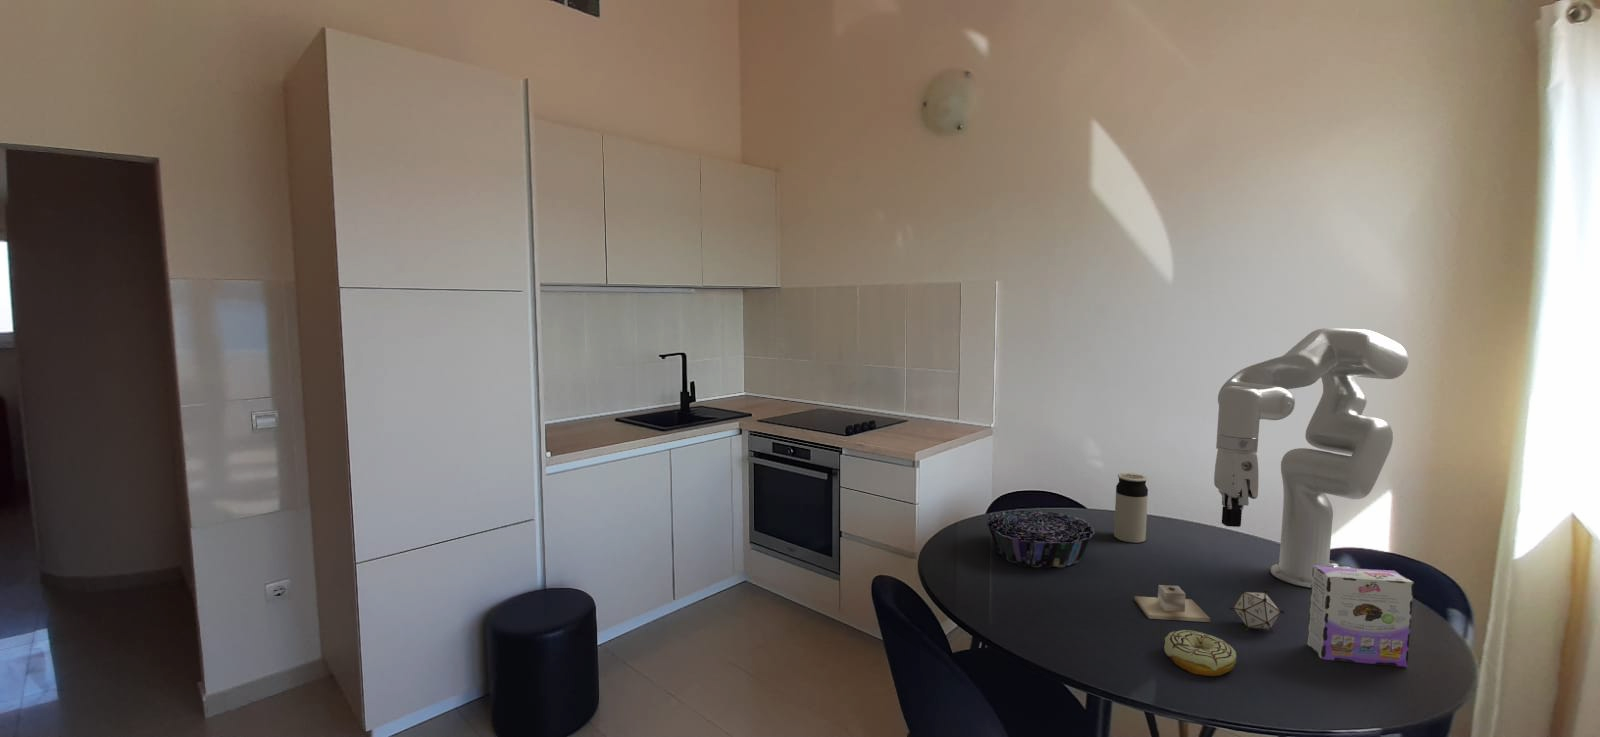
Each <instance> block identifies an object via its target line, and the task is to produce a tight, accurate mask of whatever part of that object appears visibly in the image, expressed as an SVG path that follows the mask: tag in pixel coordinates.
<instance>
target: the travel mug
mask: <svg viewBox="0 0 1600 737" xmlns="http://www.w3.org/2000/svg"><path fill="white" fill-rule="evenodd" d="M1117 478H1118V483H1117V484H1116V485H1115V502H1114V503H1115V505H1114V506H1115V507H1114V508H1115V509H1114V528H1113V529H1114V530H1113V531H1114V532H1113V536H1114V537H1115V538H1116V539H1118V540H1119V541H1122V542H1125V543H1131V544H1133V543H1134V544H1140V543H1143V542H1146V538H1147V537H1146V536H1147V516H1148V515H1147V514H1148V493H1149V489H1148V487H1147V485H1146V483H1147V481H1148V477H1147V476H1146V475H1144V474H1139V473H1133V472H1132V473H1131V472H1122V473H1119V474H1117Z"/></svg>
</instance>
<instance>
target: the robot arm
mask: <svg viewBox="0 0 1600 737" xmlns="http://www.w3.org/2000/svg"><path fill="white" fill-rule="evenodd" d="M1408 365H1409V355H1408V352H1407V350H1406V349H1405V347H1404V346H1403V345H1401V344H1400V343H1399V342H1397V341H1395V340H1393V339H1390V338H1389V337H1387V336H1385V335H1382V334H1381V333H1378V332H1375V331H1372V330H1369V329H1363V328H1362V329H1361V328H1359V329H1358V328H1336V327H1335V328H1333V327H1332V328H1331V327H1330V328H1329V327H1327V328H1326V327H1325V328H1318V329H1315V330H1313V331H1311V332H1310V333H1308V334H1307V335H1306V336H1305V337H1303V338H1302V339H1301V340H1300V341H1299V342H1298V343H1297V344H1296V345H1294V346H1293V347H1291V349H1289V350H1287V352H1286V353H1284V354H1283V355H1281V356H1278V357H1274V358H1271V359H1268V360H1264V361H1261V362H1258V363H1255V364H1252V365H1250V366H1247V367H1244V368H1242V369H1240V370H1239V371H1237V372H1236V373H1235V374H1233V375H1232V376H1231V377H1229V379H1227V380H1226V381H1225V383H1223V385H1222V386H1221V387H1220V389H1219V392H1218V395H1217V403H1218V418H1217V430H1216V444H1215V446H1216V449H1217V453H1216V459H1215V465H1214V474H1213V475H1214V476H1213V481H1214V483H1213V484H1214V486H1215V488H1217V490H1218V492H1219V494H1220V495H1221V505H1222V510H1221V512H1222V513H1221V524H1222V525H1224V527H1225V526H1226V527H1231V528H1240V527H1241V526H1242V515H1243V514H1242V513H1243V510H1244V506H1247V507H1248V506H1249V504H1250V503H1249V498H1250V499H1253V500H1256V499H1257V498H1258V496H1259V462H1258V461H1259V460H1258V454H1257V453H1258V445H1259V444H1258V443H1259V432H1260V420H1267V421H1279V420H1284V419H1285V418H1287V417H1289V416H1290V415H1291V414H1292V413H1293V411H1294V410H1295V405H1296V400H1295V397H1294V395H1293V393H1292V392H1291V391H1290V390H1293V389H1299V388H1304V387H1308V386H1312V385H1313V384H1315V383H1317V382H1318V380H1320V379H1321V383H1322V394H1321V397H1320V399H1319V401H1318V404H1317V406H1316V408H1315V410H1314V411H1313V414H1312V416H1311V418H1310V420H1309V422H1308V425H1307V427H1306V430H1305V435H1304V437H1305V440H1306V442H1307V443H1308V444H1309V445H1311V446H1312V447H1314V448H1316V449H1313V448H1307V447H1306V448H1305V447H1304V448H1302V447H1301V448H1300V447H1298V448H1293V449H1290V450H1289V451H1287V452H1286V453H1284V455H1283V457H1282V458H1281V461H1280V474H1281V478H1282V486H1283V504H1282V516H1281V517H1282V519H1281V529H1280V530H1281V533H1280V544H1279V545H1280V546H1279V549H1280V550H1279V560H1278V563H1276V564H1272V566H1270V574H1272V576H1274V577H1275V578H1277V579H1279V580H1281V581H1283V582H1286V583H1289V584H1292V585H1294V586H1300V587H1303V588H1308V589H1309V588H1310V589H1311V586H1312V573H1313V565H1314V566H1328V567H1343V568H1351V566H1339V564H1338V563H1331V562H1330V556H1331V544H1332V543H1331V542H1332V530H1333V521H1334V520H1333V518H1334V510H1333V506H1332V504H1331V501H1330V499H1329V497H1328V496H1327V495H1331V496H1335V497H1339V498H1345V499H1350V500H1362V499H1365V498H1366V497H1367V496H1369V494H1370V493H1371V492H1372V491H1373V489H1374V486H1375V484H1376V483H1377V480H1378V478H1379V476H1380V474H1381V472H1382V469H1383V467H1384V464H1385V463H1386V461H1387V458H1388V456H1389V455H1390V452H1391V449H1392V445H1393V440H1394V437H1393V436H1394V435H1393V429H1392V427H1391V425H1390V424H1389V423H1388V422H1387V421H1386V420H1384V419H1382V418H1379V417H1375V416H1369V415H1363V413H1364V410H1365V408H1366V406H1367V402H1368V400H1367V397H1366V394H1365V393H1364V391H1363V389H1362V388H1361V386H1360V385H1359V384H1358V383H1357V382H1356V380H1355V378H1354V377H1357V378H1367V379H1368V378H1369V379H1377V380H1378V379H1380V380H1393V379H1396V378H1397V379H1398V378H1399V377H1400V376H1402V375H1403V374H1404V373H1405V372H1406V371H1407V368H1408Z"/></svg>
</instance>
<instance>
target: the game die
mask: <svg viewBox="0 0 1600 737" xmlns="http://www.w3.org/2000/svg"><path fill="white" fill-rule="evenodd" d="M1240 592H1242V593H1241V594H1240V596H1239V597H1238V600H1237V601H1236V603H1235V604H1234V606H1229V607H1228V609H1229V610H1234V612H1236V615H1238V617H1239V619H1240V620H1241V621H1242V622H1243V624H1244V626H1246V627H1245V632H1247V631H1249V630H1250V629H1264V630H1265V629H1266V630H1269V631H1270V632H1271V633H1274V629H1273V628H1272V627H1273V626H1274V624H1275V622H1276V621H1277V619H1278V618H1279V616H1280V615H1281V614H1286V613H1287V612H1286V611H1284V610H1280V609H1279V607H1278V606H1277V605H1276V604H1275V602H1274V601H1273V600H1272V599H1271V598H1270V596H1269V595H1268V594H1267V593H1269V591H1268V589H1265V590H1264V592H1261V591H1260V592H1258V591H1257V592H1255V591H1245V589H1244V588H1240Z"/></svg>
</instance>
